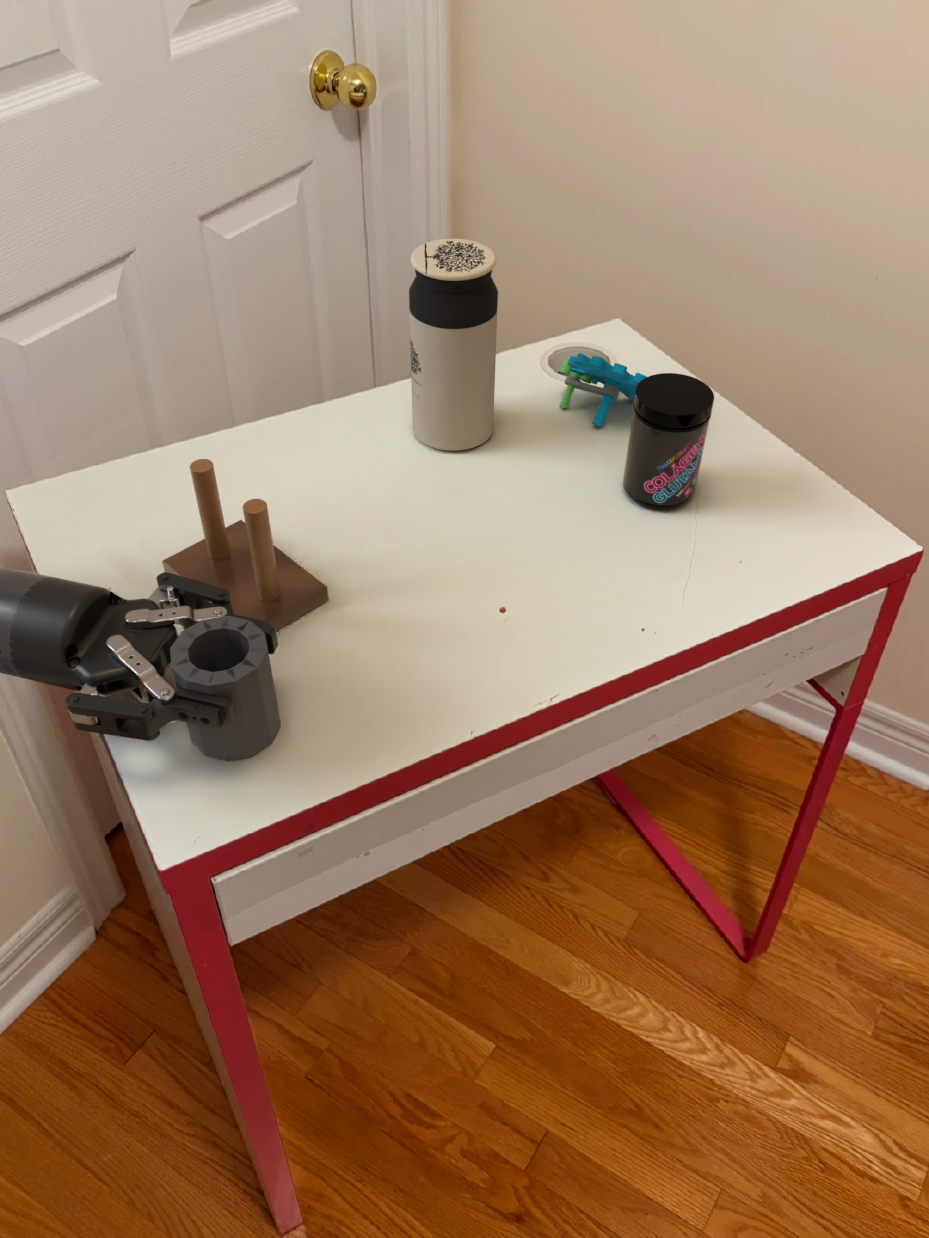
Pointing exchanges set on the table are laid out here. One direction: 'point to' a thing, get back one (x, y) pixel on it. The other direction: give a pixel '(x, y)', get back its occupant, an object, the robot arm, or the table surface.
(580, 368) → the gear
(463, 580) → the table surface
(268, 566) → the rack
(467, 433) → the travel mug
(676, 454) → the supplement container
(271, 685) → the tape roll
